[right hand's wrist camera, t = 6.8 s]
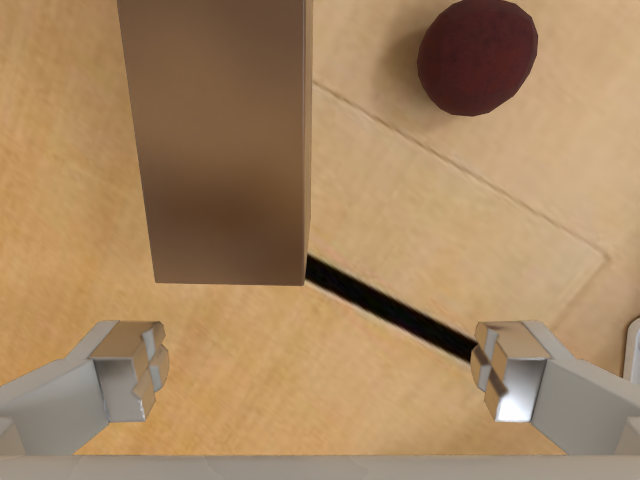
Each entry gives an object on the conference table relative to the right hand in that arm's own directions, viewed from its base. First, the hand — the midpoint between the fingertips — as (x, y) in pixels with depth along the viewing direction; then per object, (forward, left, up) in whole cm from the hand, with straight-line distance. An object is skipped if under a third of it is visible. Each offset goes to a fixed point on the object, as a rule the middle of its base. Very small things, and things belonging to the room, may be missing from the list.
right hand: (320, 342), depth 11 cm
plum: (+8, -10, -25) cm, 28 cm away
